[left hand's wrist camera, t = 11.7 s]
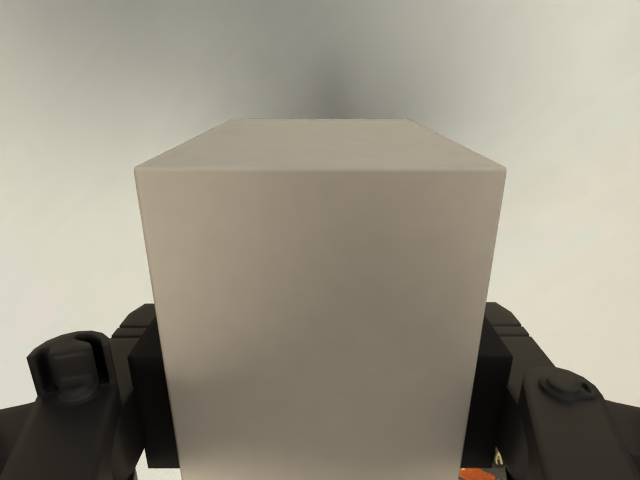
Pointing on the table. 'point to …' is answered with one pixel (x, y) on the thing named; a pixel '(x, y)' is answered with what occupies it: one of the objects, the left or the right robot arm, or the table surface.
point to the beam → (320, 296)
